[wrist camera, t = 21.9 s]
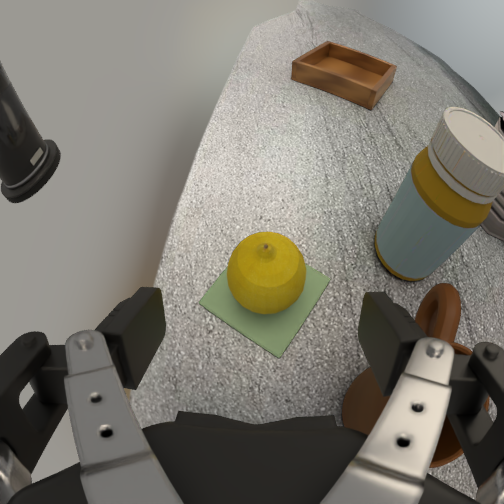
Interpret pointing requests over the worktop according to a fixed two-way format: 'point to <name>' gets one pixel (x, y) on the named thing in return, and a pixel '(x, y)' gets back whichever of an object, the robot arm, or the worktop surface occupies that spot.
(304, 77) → the crate
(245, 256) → the fruit
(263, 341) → the mat
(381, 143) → the worktop surface
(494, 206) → the can
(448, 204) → the bottle
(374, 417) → the mug
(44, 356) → the robot arm
